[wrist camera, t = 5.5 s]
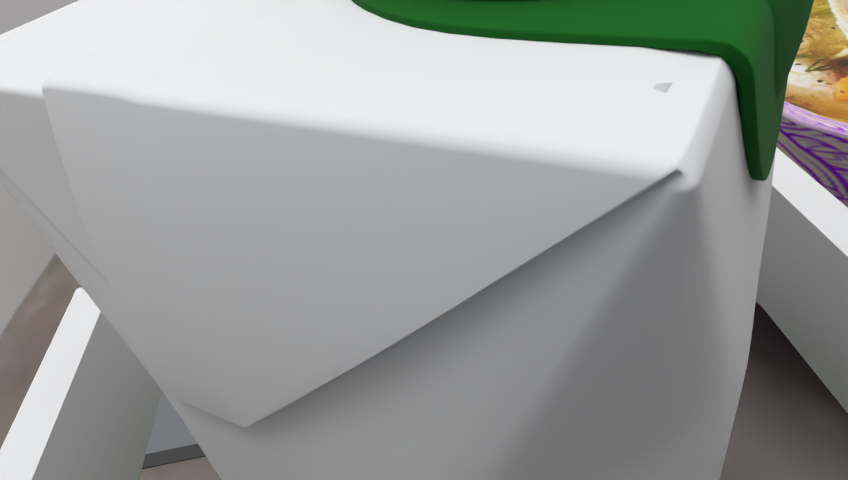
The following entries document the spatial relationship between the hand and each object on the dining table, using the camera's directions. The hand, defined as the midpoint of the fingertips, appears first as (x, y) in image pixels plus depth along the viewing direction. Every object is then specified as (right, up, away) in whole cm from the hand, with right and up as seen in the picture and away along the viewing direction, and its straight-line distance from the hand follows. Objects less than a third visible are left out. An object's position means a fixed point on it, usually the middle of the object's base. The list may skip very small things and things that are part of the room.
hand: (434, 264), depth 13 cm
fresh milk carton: (+2, -10, +5) cm, 11 cm away
